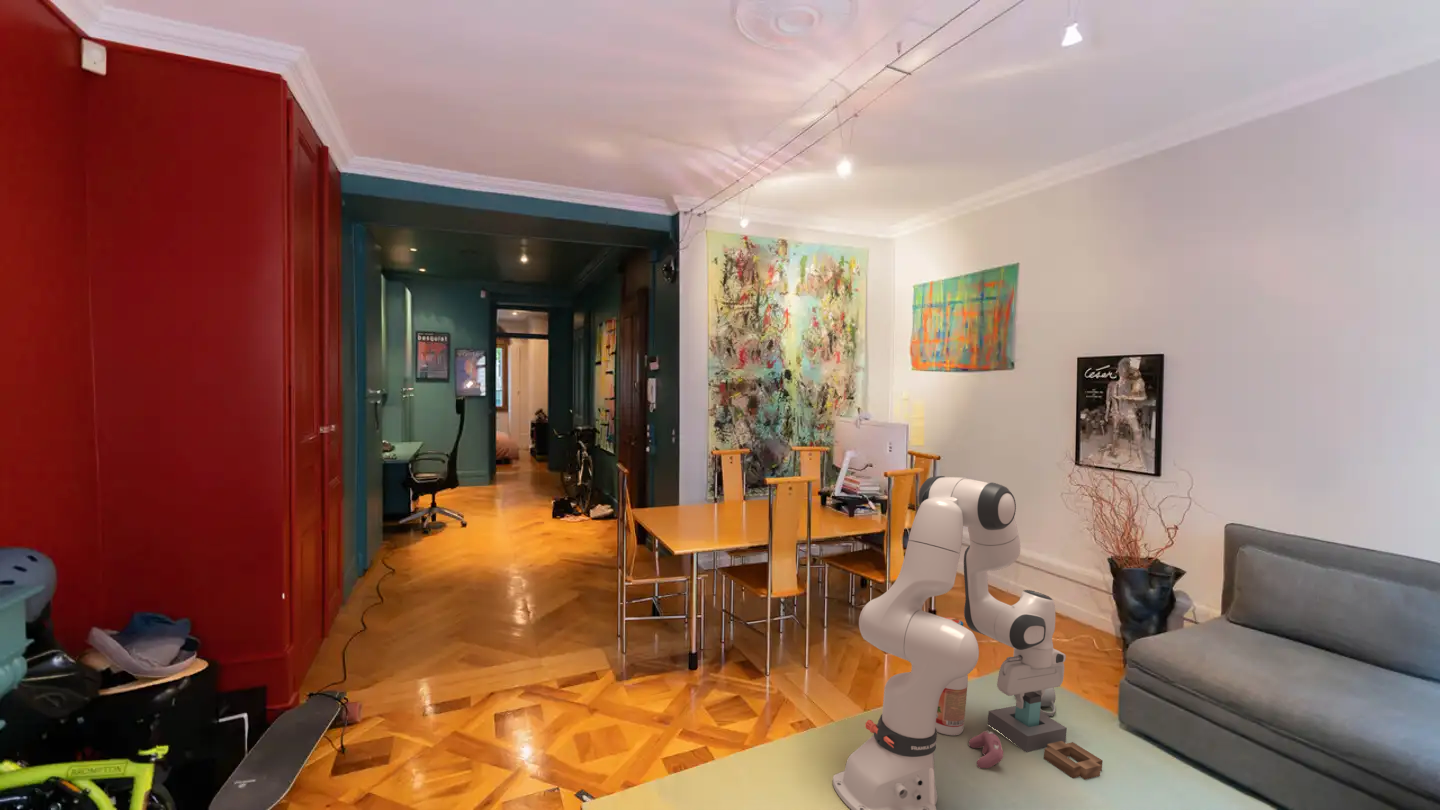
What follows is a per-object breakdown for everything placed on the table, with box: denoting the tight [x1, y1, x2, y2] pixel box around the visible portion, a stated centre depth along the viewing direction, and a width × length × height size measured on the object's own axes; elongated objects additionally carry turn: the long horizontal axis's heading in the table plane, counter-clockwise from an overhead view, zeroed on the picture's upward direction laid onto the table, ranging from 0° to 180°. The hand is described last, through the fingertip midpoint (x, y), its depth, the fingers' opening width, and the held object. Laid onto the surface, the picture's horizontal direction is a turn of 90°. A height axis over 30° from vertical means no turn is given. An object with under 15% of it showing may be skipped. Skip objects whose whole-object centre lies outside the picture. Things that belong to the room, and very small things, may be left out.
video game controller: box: [968, 730, 1004, 769], centre depth 142 cm, size 10×5×7 cm
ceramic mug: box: [1033, 687, 1057, 717], centre depth 169 cm, size 11×8×8 cm
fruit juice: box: [935, 616, 969, 736], centre depth 155 cm, size 9×9×28 cm
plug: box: [1015, 692, 1042, 727], centre depth 154 cm, size 4×4×8 cm
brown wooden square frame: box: [1043, 741, 1103, 781], centre depth 142 cm, size 10×10×2 cm
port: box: [986, 705, 1067, 753], centre depth 154 cm, size 14×12×4 cm
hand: (1028, 705), depth 154 cm, fingers closed on plug, 4 cm apart
